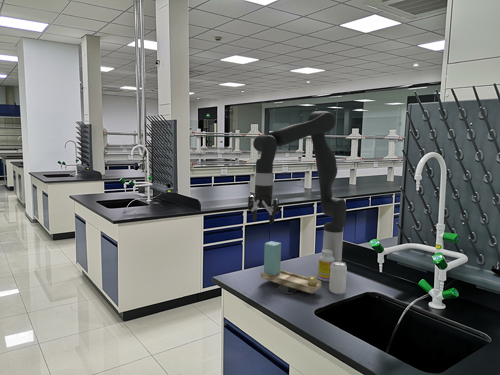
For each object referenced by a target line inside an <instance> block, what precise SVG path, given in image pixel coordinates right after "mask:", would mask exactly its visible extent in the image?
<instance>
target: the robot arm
mask: <svg viewBox="0 0 500 375" xmlns="http://www.w3.org/2000/svg"><path fill="white" fill-rule="evenodd" d="M335 126H336V118H335V115H334V114H333V113H332V112H329V111H322V110H319V111H316V110H315V111H312V112H311V113H310V114H309V115H308V118H307V121H306V122H300V123H295V124H291V125H287V126H285V127H281V128H279V129H277V130H275V131H274V130H273V131H270V132H267V133H262V134H260V135H257V136H256V137H255V138H254V139H253V142H252V144H253V146H252V147H253V148H254V149H255V150H256V151H257V152H259V153H260V157H259V158H257V159H256V161H255V176H254V195H255V196H254V195H249V196H248V201H247V210H250V211H251V220H252V221H254V222H255V221H257V219H258V212H257V210H258V209H260V208H262V209H265V210H266V211H267V212H268V213H269V216H268V224H269V225H271V224H274V222H275V215H277V214H279V213H280V199H279V198H276V199H275V198H274V199H273V194H274V193H273V191H274V187H273V186H274V176H273V174H274V173H273V169H274V161H275V157H276V153H277V150H278V149H277V148H278V147H285V146H286V145H288V144H291V143H294V142H296V141H298V140H301V139H305V138H307V137H310V139H311V143H312V147H313V153H314V157H315V158H314V159H315V165H316V170H317V175H318V176H317V177H318V185H319V192H320V193H319V194H320V207H321V213H323V214H324V215H325V216H329V217H332V220H331V222H326V223H324V225H323V237H322V238H323V240H322V250H324V249H328V250H332V251H333V254H332V256H333V257H334V259H335V261H342V258H343V256H342V255H343V240H344V239H343V238H344V228H345V224H346V217H347V216H346V215H347V203H346V202H347V201H346V200H345V199H342V198H337V197H334V196H333V192H332V191H333V189H332V186H333V184H334V182H335V179H336V178H337V175H338V164H337V159H336V158H337V157H336V155H335V154H334V152H333V150H332V149H331V148H330V145H329V143H328V142H327V139H326V135H325V133H329V132H330V131H332V130H333V129H334V128H335ZM254 202H255V203H254Z"/></svg>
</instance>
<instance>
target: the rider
mask: <svg viewBox="0 0 500 375" xmlns="http://www.w3.org/2000/svg"><path fill="white" fill-rule="evenodd" d="M263 252H264V256H263V257H264V258H263V263H264V264H263V273H266V274H270V275H273V276H275V275H277V274H279V273H280V270H281V262H282V261H281V259H282V257H281V254H282V243H281V242H277V241H272V240H270V241H267V242H265V243H264V251H263Z"/></svg>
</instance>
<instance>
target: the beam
mask: <svg viewBox="0 0 500 375" xmlns="http://www.w3.org/2000/svg"><path fill="white" fill-rule="evenodd" d="M308 277H309V276H303V275H301V274H300V275H299V274H298V273H297V274H296V273H292V272H289V271H285V270H282V269H280V273H279V274H277V275H275V276H273V275H270V274H266V273H264V271H263V272H260V279H263V280H265V281H270V282H273V283H275V284H279V285H281V284H282V285H285V286H289V287H292V288H295V289H298V291H302V292H306V293H309V294H313V293H315V292H316V291H318V290H319V289H321V288H322V280H320V279H317V286H316V287H311V286H308Z"/></svg>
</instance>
